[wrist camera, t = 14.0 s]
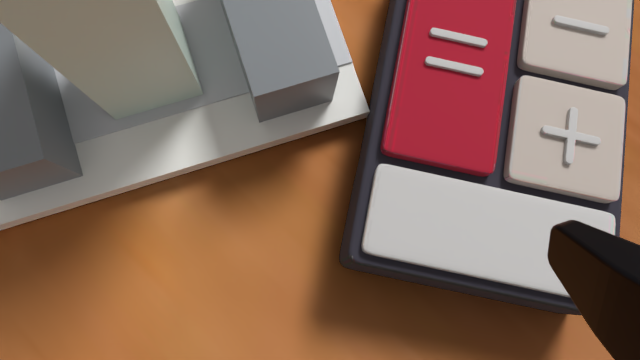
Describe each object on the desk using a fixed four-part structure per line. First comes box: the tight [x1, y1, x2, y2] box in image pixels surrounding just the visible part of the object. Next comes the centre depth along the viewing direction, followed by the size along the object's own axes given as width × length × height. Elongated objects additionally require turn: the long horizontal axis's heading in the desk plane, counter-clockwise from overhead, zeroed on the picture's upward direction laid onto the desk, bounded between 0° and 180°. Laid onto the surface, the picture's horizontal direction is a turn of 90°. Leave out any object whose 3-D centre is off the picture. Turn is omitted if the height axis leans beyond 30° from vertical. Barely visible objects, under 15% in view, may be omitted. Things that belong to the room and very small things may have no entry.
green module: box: [0, 0, 203, 120], centre depth 18 cm, size 4×4×10 cm
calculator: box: [339, 0, 634, 315], centre depth 23 cm, size 11×4×15 cm
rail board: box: [0, 0, 370, 230], centre depth 21 cm, size 18×10×4 cm, turn 109°
